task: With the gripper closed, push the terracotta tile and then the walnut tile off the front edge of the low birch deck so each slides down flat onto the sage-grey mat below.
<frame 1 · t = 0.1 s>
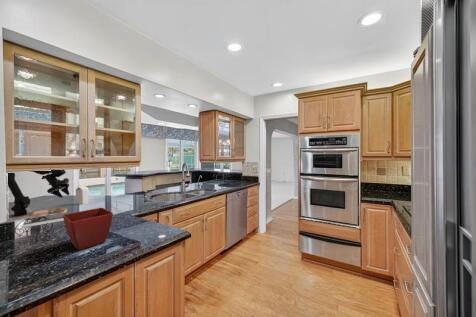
hand: (65, 196, 166), 15 cm above the countertop, tool tilted 30°, fingers open, 9 cm apart
walnut tile: (57, 211, 168), point 1 cm above the countertop, touching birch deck
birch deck: (49, 214, 165), on the countertop
plant pot: (89, 243, 115), on the countertop
terracotta tile: (40, 214, 162), point 1 cm above the countertop, touching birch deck
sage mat: (48, 219, 154), on the countertop
milk carton: (82, 204, 195), on the countertop
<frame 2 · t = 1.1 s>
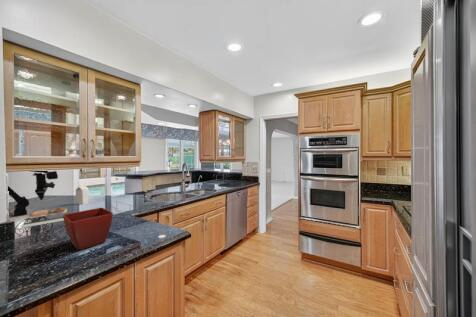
hand: (42, 198, 170), 12 cm above the countertop, tool pointing down, fingers open, 9 cm apart
nothing on the countertop moved.
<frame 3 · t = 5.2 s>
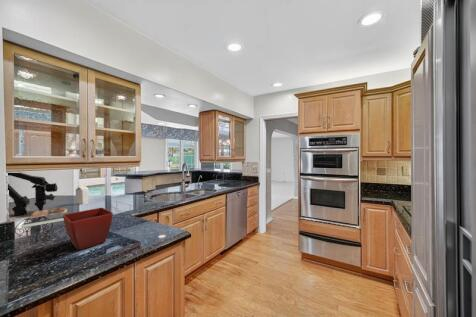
hand: (41, 211, 165), 3 cm above the countertop, tool pointing down, fingers closed
terracotta tile: (40, 214, 161), point 2 cm above the countertop, touching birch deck, gripper
everything else where it was.
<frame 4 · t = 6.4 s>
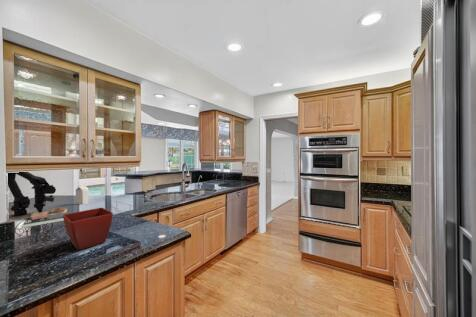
hand: (40, 213, 160), 3 cm above the countertop, tool pointing down, fingers closed
terracotta tile: (39, 216, 156), point 1 cm above the countertop, touching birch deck
everything else where it was.
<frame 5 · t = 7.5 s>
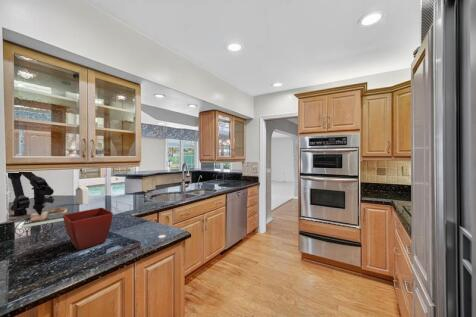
hand: (40, 215, 156), 3 cm above the countertop, tool pointing down, fingers closed
terracotta tile: (38, 219, 152), resting on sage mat
everything else where it was.
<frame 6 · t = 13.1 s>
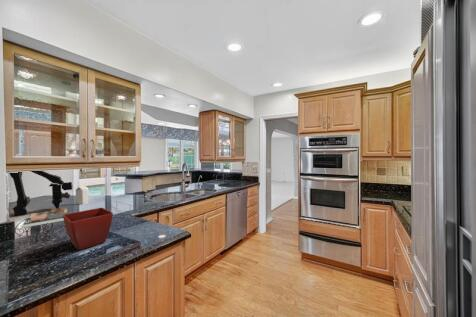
hand: (57, 209, 172), 3 cm above the countertop, tool pointing down, fingers closed
walnut tile: (57, 212, 167), point 1 cm above the countertop, touching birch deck, gripper
everything else where it was.
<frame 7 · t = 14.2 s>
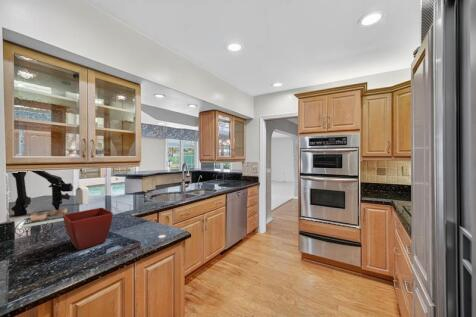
hand: (57, 210, 167), 3 cm above the countertop, tool pointing down, fingers closed
walnut tile: (57, 213, 162), point 1 cm above the countertop, touching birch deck, gripper
everything else where it was.
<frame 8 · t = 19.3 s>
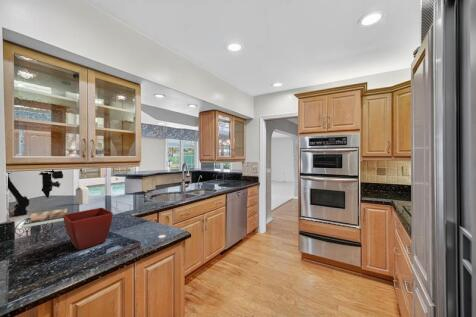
hand: (47, 197, 173), 12 cm above the countertop, tool pointing down, fingers closed
walnut tile: (56, 216, 159), resting on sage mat
everything else where it was.
at the end: terracotta tile inside the target area (7.2 cm from its centre), resting on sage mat; walnut tile inside the target area (6.4 cm from its centre), resting on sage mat; milk carton moved 0.2 cm from its start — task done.
